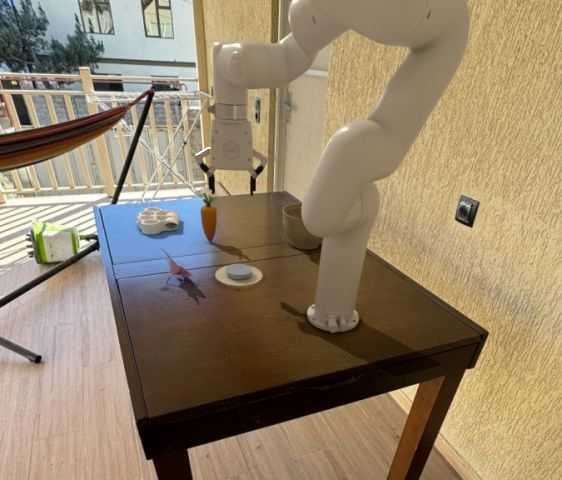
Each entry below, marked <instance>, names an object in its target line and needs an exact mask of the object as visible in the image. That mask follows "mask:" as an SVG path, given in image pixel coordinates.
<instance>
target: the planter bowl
mask: <svg viewBox="0 0 562 480" xmlns="http://www.w3.org/2000/svg"><path fill="white" fill-rule="evenodd" d="M301 210H302V202H299V203H297V202H296V203H290V204H287V205H285V206H284V207H282V222H283V228H284V231H285V233H286V235H287V238H288V239H289V241H290V242H289V243H290V245H291V246H292V247H294V248H296V249H298V250H299V249H300V250H306V251H307V250H308V251H309V250H315V249H317V248H319V246H320V243H322V242H323V239H324V238H320V237H316V236H314V235H312V234H311V233H310V232H309V231H308V230H307V229H306V227H305V226H304V223H303V220H302V213H301Z"/></svg>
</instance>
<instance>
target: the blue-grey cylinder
mask: <svg viewBox="0 0 562 480" xmlns="http://www.w3.org/2000/svg"><path fill="white" fill-rule="evenodd" d="M226 266H227V267H226V275H227V276H228V277H230V278H234V279H245V278H248V277H250V276H251V275H252V268H251V267H252V266H251V265H248V264H244V263H232V264H229V265H226ZM250 266H251V267H250Z"/></svg>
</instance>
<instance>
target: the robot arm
mask: <svg viewBox="0 0 562 480" xmlns="http://www.w3.org/2000/svg"><path fill="white" fill-rule="evenodd" d="M470 19H471V18H470V9H469V6H468V2H467V0H291V1H290V4H289V7H288V22H289V28H290V32H289V34H287V35H286V36H285V37H283V38H282V39H281V40H279V41H278V42H265V41H251V40H241V41H230V40H229V41H228V40H217V41H214V42H213V44H212V46H211V72H212V73H211V74H212V93H213V94H212V95H213V97H212V99H213V103H212V104H210V105H206V107H207V109H206V110H207V113H209V114H211V115H212V116H213V118H211V119H210V126H209V147H206V148H205V149H203V150H201V151H199V152H197V153H196V154H195V156H194V157H195V160H196V162H197V164H198V166H199V167H200V169H201V170H202V172H204V173H205V174H206V176H207V180H208V190H209V191H211V195H215V194H216V180H215V174H214V173H215V172H216V171H217V170H219V171H238V172H239V171H242V172H243V171H244V172H245V171H247V172H248V173H249V174H250V176H249V195H250V196H251V197H253V196H254V192H257V178H258V177H259V175H260V174H261V173H262V172H263V171H264V169H265V167H266V165H267V164H268V161H269V158H268V157H267V156H266V155H264V154H262V153H261V152H260V151H257V150H256V149H254V138H253V137H254V136H253V135H254V134H253V127H252V122H251V121H250V120H249V119H248V117H249V116H248V104H249V103H248V102H249V101H248V99H249V98H248V92H249V91H248V90H260V89H261V90H263V89H266V90H267V89H268V90H269V89H272V90H275V89H276V90H277V89H280V88H283V87H285V86H287V85H289V84H291V83H292V82H294V81H295V80H298V78H300V77H301V76H303V75H304V74H306V73H307V72H308V71H309V69H311V67H312V66H313V64H314V63H315V61H316V59H317V58H318V56H319V52H321V50H323V49H325V47H327V46H328V45H330V44H331V43H333V42H334V41H335V40H337V39H338V38H340V37H341V36H342V35H344V34H345V33H347V32H348V31H350V30H352V31H353V32H355V33H356V34H358V35H361V36H362V37H364V38H366V39H368V40H370V41H373V42H375V43H378V44H380V45H384V46H389V47H401V48H408V53H407V55H406V57H405V59H404V60H403V62H402V63H401V64H400V66H399V67H398V68H397V69H396V71H394V73H393V74H392V76H391V77H390V79H389V80H388V82H387V84H386V85H385V87H384V89H383V92H382V94H381V96H380V98H379V100H378V102H377V104H376V105H375V108H374V109H373V111H372V112H371V114H370V115H369V117H367V118H366V119H361V120H354V121H350V122H348V123H346V124H344V125H343V126H341V127H340V128H338V129H337V130H336V131H335V132H334V133H333V134H332V136H331V137H330V138H329V140H328V141H327V143H326V145H325V147H324V149H323V151H322V154H321V156H320V158H319V161H318V163H317V165H316V167H315V170H314V172H313V174H312V177H311V178H310V181H309V183H308V186H307V188H306V190H305V192H304V195H303V198H302V202H301V203H302V210H301V213H302V220H303V223H304V226H305V227H306V229H307V230H308V231H309V232H310V233H311V234H312V235H314V236H316V237H320V238H324V239H323V240H322V243H321V249H320V250H321V251H320V257H319V265H318V274H317V281H316V289H315V298H314V303H313V304H312V305H310V306H309V307H308V309H307V311H306V313H307V315H306V319H307V321H308V322H309V323H310V324H311V325H313V326H314V327H316V328H318V329H320V330H323V331H326V332H330V333H332V334H335V333H341V332H342V333H343V332H347V331H348V332H349V331H350V330H352V329H355V328H356V327H357V325H358V324H359V321H360V315H359V313H358V312H357V310H356V303H357V298H358V294H359V293H358V292H359V289H360V284H361V283H360V282H361V278H362V274H363V268H364V263H365V259H366V253H367V251H368V250H367V249H368V245H369V241H370V237H371V235H372V234H371V233H372V231H373V228H374V226H375V223H376V220H377V217H378V215H379V210H380V205H381V196H380V191H379V188H378V186H377V185H376V182H378V181H381V180H383V179H384V180H385V179H386V178H388V177H390V176H392V175H393V174H394V173H396V172H397V170H398V169H399V168H400V166H401V165H402V163H403V161H404V160H405V157H406V156H407V155H408V153H409V151H410V149H411V148H412V146H413V145H414V143H415V141H416V140H417V138H418V136H419V135H420V134H421V131H422V129H423V128H424V127H425V125H426V123H427V122H428V119H429V118H430V116H431V114H432V112H433V111H434V109H435V107H436V106H437V105H438V103H439V101H440V100H441V98H442V96H443V95H444V93H445V91H446V90H447V88H448V87H449V85H450V84H451V82H452V80H453V79H454V77H455V75H456V73H457V71H458V69H459V67H460V66H461V63H462V61H463V58H464V55H465V52H466V49H467V46H468V41H469V37H470V36H469V35H470V24H471V23H470ZM208 156H209V159H210V160H209V161H210V166H208V165H207V164H206V163H205V162H204V158H206V157H208ZM254 158H256V159H257V160H259V161H260V163H259V165H258V166H257V167H256V168H255V167H254Z"/></svg>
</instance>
